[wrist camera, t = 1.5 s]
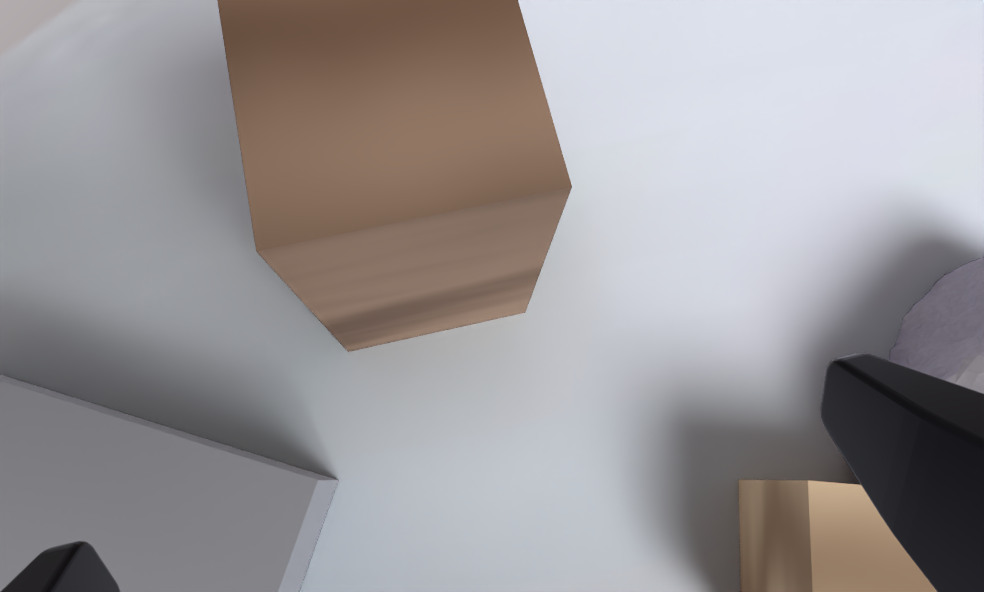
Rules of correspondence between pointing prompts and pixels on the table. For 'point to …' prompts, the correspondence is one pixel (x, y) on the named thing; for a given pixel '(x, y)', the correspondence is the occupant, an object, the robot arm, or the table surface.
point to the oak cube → (819, 541)
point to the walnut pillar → (395, 158)
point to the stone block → (947, 329)
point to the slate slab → (150, 499)
